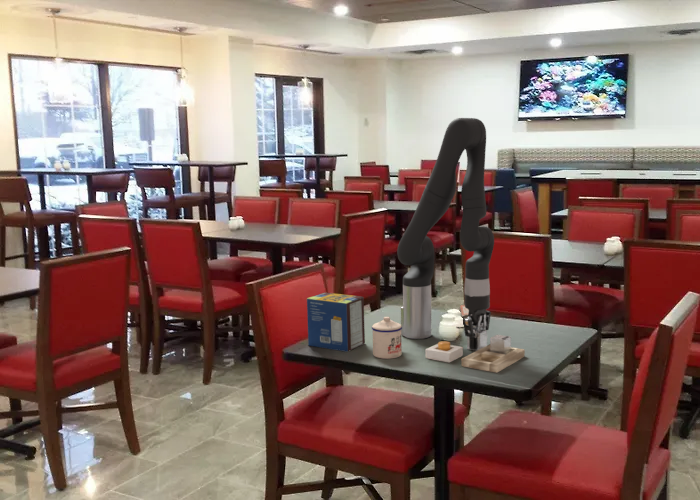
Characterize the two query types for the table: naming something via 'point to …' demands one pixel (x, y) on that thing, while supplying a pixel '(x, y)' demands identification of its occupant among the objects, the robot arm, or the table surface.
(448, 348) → the button
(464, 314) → the packaged product
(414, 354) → the table surface
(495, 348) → the block
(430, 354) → the box
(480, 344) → the steel billet
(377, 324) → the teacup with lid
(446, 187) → the robot arm
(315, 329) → the protein box
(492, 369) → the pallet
